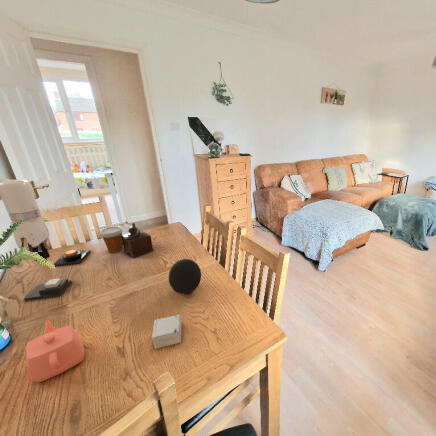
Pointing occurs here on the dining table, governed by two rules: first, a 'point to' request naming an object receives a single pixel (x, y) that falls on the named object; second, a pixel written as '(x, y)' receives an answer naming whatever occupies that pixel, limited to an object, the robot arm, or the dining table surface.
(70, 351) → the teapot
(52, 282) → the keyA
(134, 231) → the brown coffee grinder
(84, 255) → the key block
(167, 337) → the small box
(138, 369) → the dining table surface
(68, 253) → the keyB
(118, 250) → the disposable coffee cup
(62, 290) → the dark grey base
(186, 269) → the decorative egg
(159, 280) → the dining table surface
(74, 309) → the dining table surface
